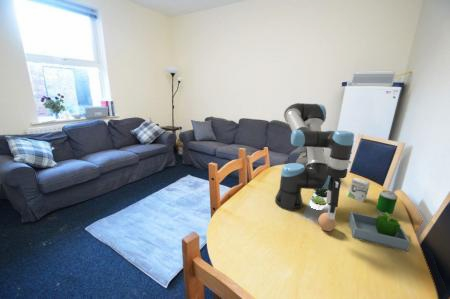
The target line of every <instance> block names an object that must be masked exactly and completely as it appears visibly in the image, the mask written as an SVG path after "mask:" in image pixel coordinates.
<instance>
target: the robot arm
mask: <svg viewBox="0 0 450 299" xmlns="http://www.w3.org/2000/svg"><path fill="white" fill-rule="evenodd" d="M283 117H284V120H285V122H286V123H287V124H288V125H289V127H290V129H291V134H290V143H291V145H292V146H293V147H294V146H295V147H299V148H300V147H304V148H307V155H308V163H307V164H306V166H305V167H306V168H305V167H304V165H302V164H298V163H296V162H291V163H286V164H284V165H283V166H282V167H281V172H280V181H279V182H280V183H279V189H278V191H277V194H276V195H275V198H274V203H275V204H276V205H277V206H278V207H280V208H282V209H284V210H288V211H297V210H300V209H302V208H303V203H304V202H303V198H302V189H306V190H317V189H319V188H321V189H323V188H324V189H328V190H327V193H326V198H325V204H327V205H328V210H327V213H328V214H327V218H329V219H333V220H334V218H335V217H336V211H337V208H338V207H339V200H340V199H339V197H340V190H341V185H342V184H341V183H342V181H341V179H345V178H346V177H347V174H348V168H349V164H351V163H352V162H351V154H352V150H353V145H354V142H355V140H354V139H355V134H354V133H353V132H352V131H348V130H325V131H322V125H324V123H325V121H326V118H327V109H326V107H325V105H323V104H321V103H320V104H319V103H301V102H298V103H294V104H290V105H289V106H288V107H287V108H286V109H285V111H284V112H283ZM324 148H325V149H330V152H329V154H330V155H329V159H328V163H326V161H325V162H324V160H325V155H324V152H323V149H324Z"/></svg>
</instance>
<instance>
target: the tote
mask: <svg viewBox="0 0 450 299" xmlns="http://www.w3.org/2000/svg"><path fill="white" fill-rule="evenodd" d="M349 212H350V213H349V217H348V223H349V228H350V231H351V236H352V238H353V239H355V240H361V241H363V242H368V243H370V244H371V243H372V244H374V245H375V244H376V245H379V246H384V247H387V248H391V249H395V250H400V251H404V252H408V251H409V247H410V244H411V241H410V239H409V238H408V235H407V233H405V230H404V229H403V228H402V226H401V225H400V229H399V231H398V232H397V234H396V235H395V236H394V237H392V236H387V235H383V234H379V233H378V231H377V229H376V220H377V217H378V216H377V217H376V216H373V215H367V214H363V213H358V212H353V211H349Z"/></svg>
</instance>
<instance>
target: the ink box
mask: <svg viewBox="0 0 450 299" xmlns="http://www.w3.org/2000/svg"><path fill="white" fill-rule="evenodd" d="M370 184H371V183H370V181H367V180H366V179H365V180H364V179H362V178H358V177H354V178H351V183H350V187H349V190H348V194H347V197H349V198H351V199H355V200H357V201H358V202H362V203H363V202H365V201H366V200H367V195H368V193H369V189H370Z"/></svg>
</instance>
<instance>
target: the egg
mask: <svg viewBox="0 0 450 299" xmlns="http://www.w3.org/2000/svg"><path fill="white" fill-rule="evenodd" d="M327 214H328V212H323V213H322V214H320V215H319V217H318V220H317V221H318V222H317V223H318V225H319V227H320V228H321V229H322V230H324V231H329V232H330V231H332V230H334V229H335V228H336V225H337V222H336V219H335V217H334V220H333V219H329V218H327Z"/></svg>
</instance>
